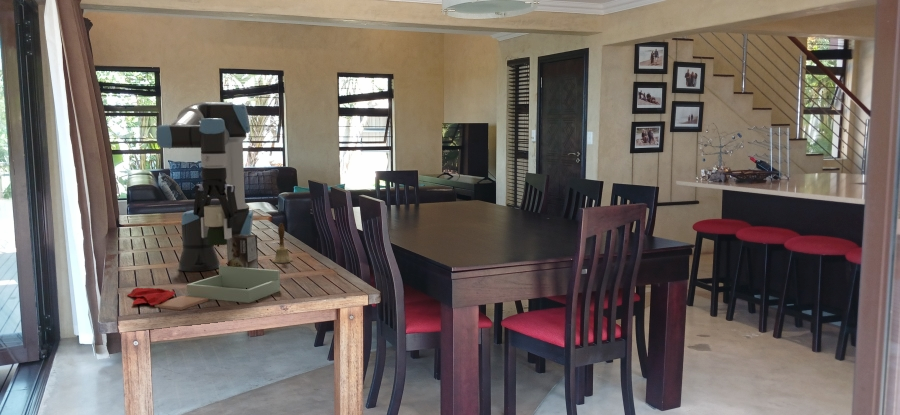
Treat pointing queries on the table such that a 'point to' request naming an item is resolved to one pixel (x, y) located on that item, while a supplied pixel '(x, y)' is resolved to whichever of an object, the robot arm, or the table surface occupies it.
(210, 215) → the character mug
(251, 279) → the frame
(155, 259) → the table surface
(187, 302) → the terracotta tile
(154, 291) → the cloth
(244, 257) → the coffee box
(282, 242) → the hand bell
